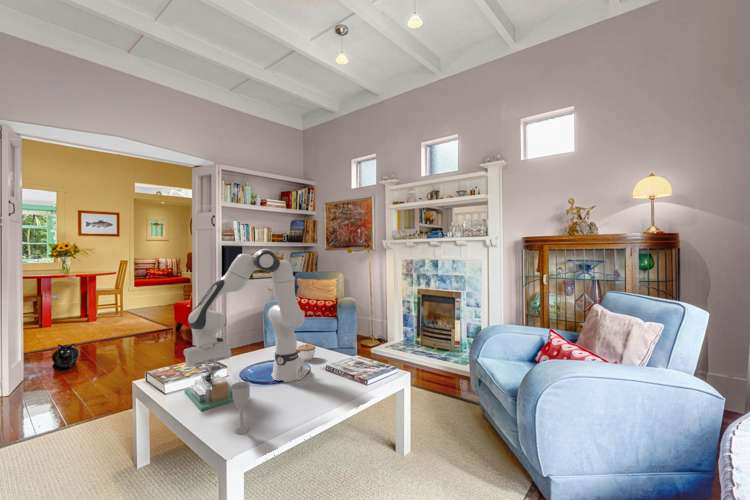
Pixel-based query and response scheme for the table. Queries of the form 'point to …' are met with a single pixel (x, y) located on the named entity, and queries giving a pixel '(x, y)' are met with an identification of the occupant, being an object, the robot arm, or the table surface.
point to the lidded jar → (307, 352)
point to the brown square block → (219, 391)
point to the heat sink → (207, 387)
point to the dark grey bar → (212, 371)
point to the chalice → (241, 402)
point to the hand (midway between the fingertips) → (212, 369)
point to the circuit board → (207, 405)
